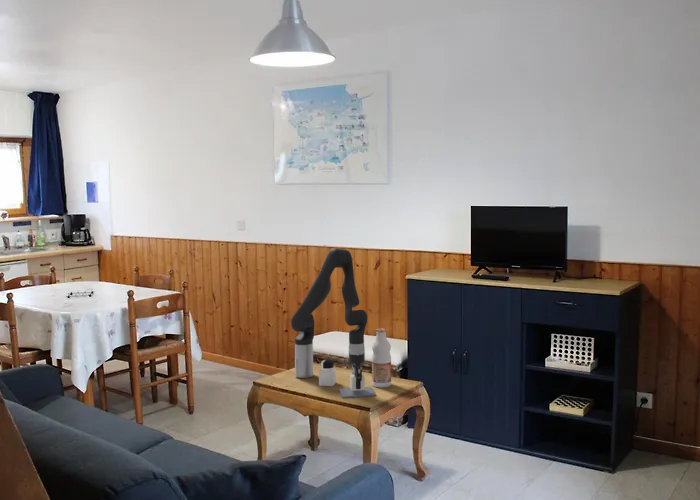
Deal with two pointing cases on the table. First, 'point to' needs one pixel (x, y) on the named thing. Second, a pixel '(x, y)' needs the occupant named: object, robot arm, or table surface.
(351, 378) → the letter cube
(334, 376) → the medicine bottle
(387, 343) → the white plastic bottle
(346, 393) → the slate mat
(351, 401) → the table surface
